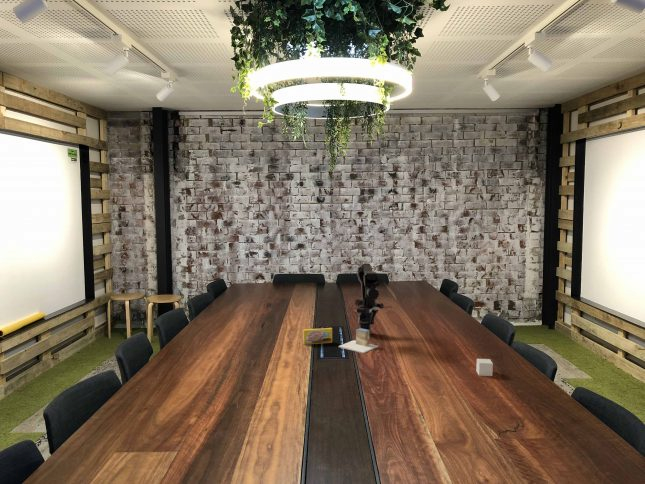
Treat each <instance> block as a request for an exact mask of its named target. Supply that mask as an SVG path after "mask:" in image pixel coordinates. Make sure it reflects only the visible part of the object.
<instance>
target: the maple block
mask: <svg viewBox="0 0 645 484" xmlns="http://www.w3.org/2000/svg"><path fill="white" fill-rule="evenodd" d="M355 341H356V344H358V345H362V346H367V345H369V344H370V335H369V330H367V329H362V328H360V327H359V328H357V329H355Z"/></svg>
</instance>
